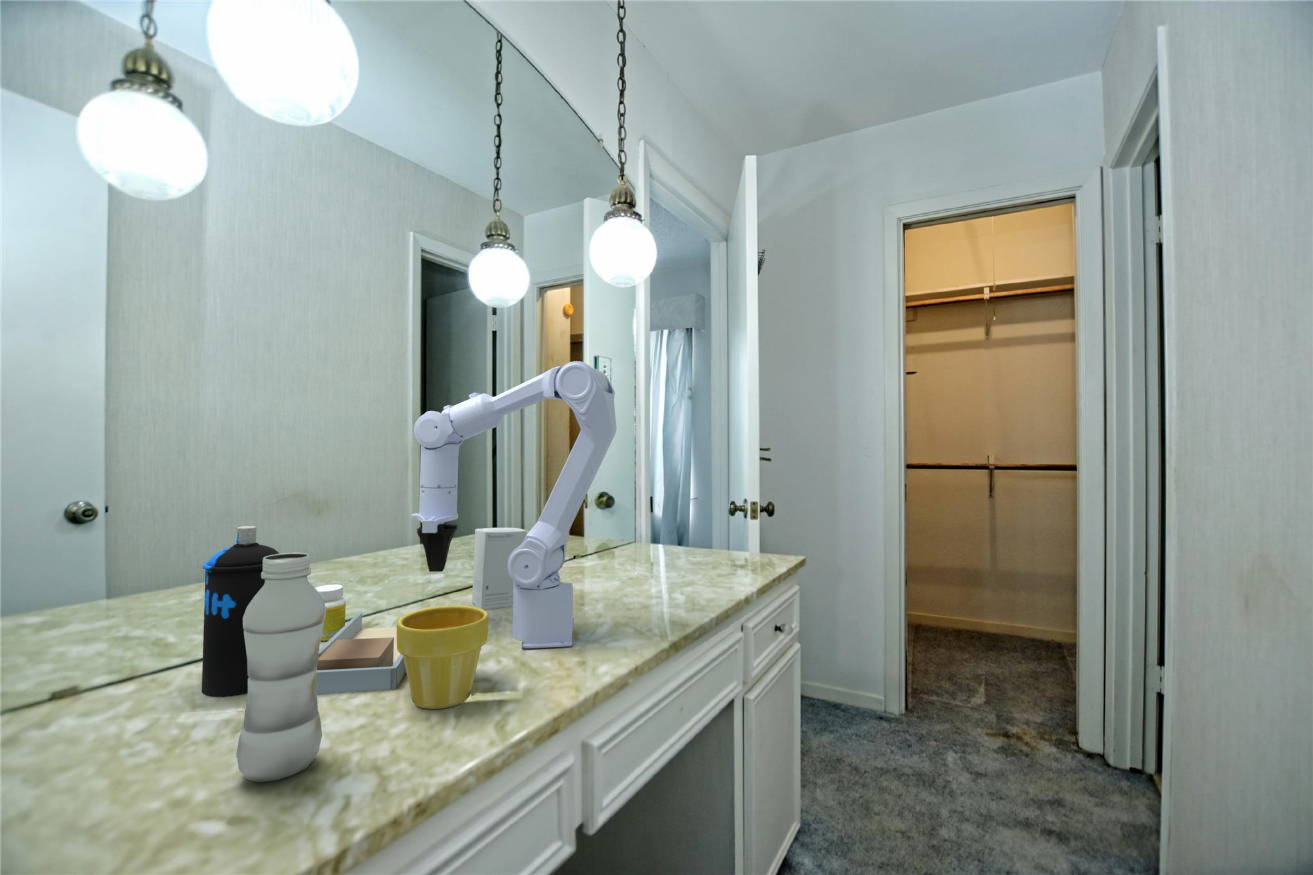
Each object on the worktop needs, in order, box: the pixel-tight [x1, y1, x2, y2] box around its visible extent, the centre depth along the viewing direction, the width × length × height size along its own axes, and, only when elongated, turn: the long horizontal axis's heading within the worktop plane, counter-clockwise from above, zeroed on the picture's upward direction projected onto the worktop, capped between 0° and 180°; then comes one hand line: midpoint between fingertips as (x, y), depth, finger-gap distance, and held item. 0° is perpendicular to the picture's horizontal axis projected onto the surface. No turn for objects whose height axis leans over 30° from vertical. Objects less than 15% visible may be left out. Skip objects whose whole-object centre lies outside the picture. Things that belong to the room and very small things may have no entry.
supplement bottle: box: [314, 584, 346, 643], centre depth 85 cm, size 5×5×8 cm
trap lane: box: [316, 612, 407, 695], centre depth 79 cm, size 16×24×4 cm
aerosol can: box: [201, 525, 281, 698], centre depth 69 cm, size 8×8×20 cm
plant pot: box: [396, 605, 489, 710], centre depth 68 cm, size 10×10×10 cm
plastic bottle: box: [235, 552, 326, 783], centre depth 53 cm, size 6×7×20 cm
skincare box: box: [471, 527, 528, 611], centre depth 105 cm, size 8×6×15 cm
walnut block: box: [316, 637, 394, 670], centre depth 71 cm, size 7×7×4 cm
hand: (436, 570), depth 91 cm, fingers closed
